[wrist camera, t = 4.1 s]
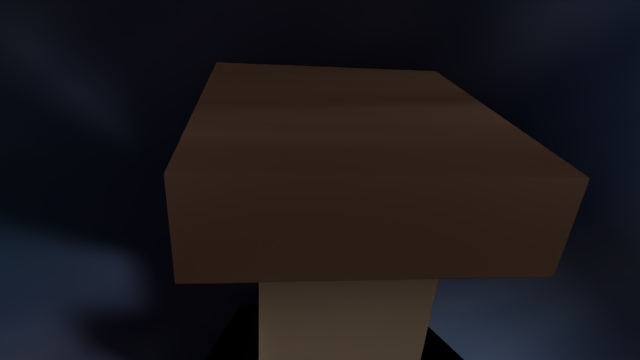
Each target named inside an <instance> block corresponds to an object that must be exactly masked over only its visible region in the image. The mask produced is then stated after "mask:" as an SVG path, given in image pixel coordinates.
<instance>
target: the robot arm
mask: <svg viewBox="0 0 640 360" xmlns="http://www.w3.org/2000/svg"><path fill="white" fill-rule="evenodd" d="M205 360H259V303H244V304H241V305H240V306H239V308H238V309H237V311H236V312H235V314H234V316H233V317H232V319H231V320H230V322H229V323H228V325H227V327H226V328H225V330H224V331H223V333H222V334H221V336H220V337H219V339H218V341H217V342H216V344H215V345H214V347H213V348H212V350H211V352H210V353H209V355H208V356H207V358H206V359H205ZM421 360H464V359H463V358H461V357H460V356H459V355H458V354H457V353H456V352H455V351H454V350H453V349H452V348H451V347H450V346H449V345H448V344H446V343H445V342H444V341H443V340H442V339H441V338H440V337H439V336H438V335H437V334H436V333H435V332H434V331H432V330H431V329H430V328H429V327H428V329H427V334H426V338H425V342H424V347H423V351H422V356H421Z"/></svg>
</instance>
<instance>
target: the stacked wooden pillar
mask: <svg viewBox="0 0 640 360" xmlns="http://www.w3.org/2000/svg"><path fill="white" fill-rule="evenodd" d="M589 180H590V178H589V177H588V176H586V175H585V174H583V173H582V172H580V171H579V170H577V169H576V168H575V167H573V166H572V165H570V164H569V163H567V162H566V161H564V160H563V159H562V158H560V157H559V156H557V155H556V154H554V153H553V152H551V151H550V150H549V149H547V148H546V147H544V146H543V145H541V144H540V143H539V142H537V141H536V140H534V139H533V138H531V137H530V136H528V135H527V134H526V133H524V132H523V131H521V130H520V129H518V128H517V127H515V126H514V125H513V124H511V123H510V122H508V121H507V120H505V119H504V118H502V117H501V116H500V115H498V114H497V113H495V112H494V111H492V110H491V109H490V108H488V107H487V106H485V105H484V104H482V103H481V102H479V101H478V100H477V99H475V98H474V97H472V96H471V95H469V94H468V93H466V92H465V91H464V90H462V89H461V88H459V87H458V86H456V85H455V84H453V83H452V82H451V81H449V80H448V79H446V78H445V77H443V76H442V75H441V74H439V73H438V72H436V71H421V70H395V69H370V68H345V67H319V66H294V65H269V64H243V63H218V62H216V64H215V67H214V69H213V71H212V73H211V75H210V77H209V79H208V81H207V84H206V86H205V88H204V90H203V92H202V94H201V96H200V98H199V100H198V103H197V105H196V107H195V109H194V111H193V113H192V115H191V117H190V119H189V122H188V124H187V126H186V128H185V130H184V132H183V134H182V136H181V139H180V141H179V143H178V145H177V147H176V149H175V151H174V153H173V155H172V158H171V160H170V162H169V164H168V166H167V168H166V170H165V172H164V182H165V191H166V201H167V211H168V220H169V230H170V240H171V249H172V259H173V269H174V279H175V284H206V283H259V360H421V356H422V351H423V347H424V342H425V338H426V334H427V329H428V325H429V320H430V316H431V311H432V307H433V302H434V298H435V293H436V289H437V285H438V280H439V279H472V278H525V277H554V275H555V272H556V270H557V267H558V264H559V262H560V259H561V256H562V253H563V251H564V248H565V245H566V242H567V240H568V237H569V234H570V232H571V229H572V226H573V223H574V221H575V218H576V215H577V212H578V210H579V207H580V204H581V202H582V199H583V196H584V193H585V191H586V188H587V185H588V182H589Z"/></svg>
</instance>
